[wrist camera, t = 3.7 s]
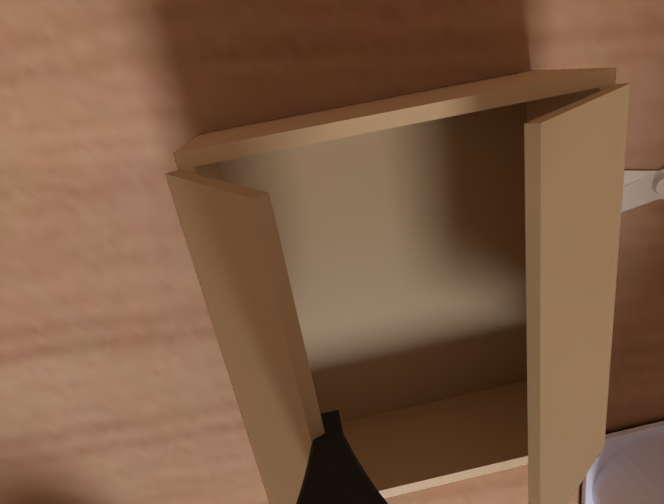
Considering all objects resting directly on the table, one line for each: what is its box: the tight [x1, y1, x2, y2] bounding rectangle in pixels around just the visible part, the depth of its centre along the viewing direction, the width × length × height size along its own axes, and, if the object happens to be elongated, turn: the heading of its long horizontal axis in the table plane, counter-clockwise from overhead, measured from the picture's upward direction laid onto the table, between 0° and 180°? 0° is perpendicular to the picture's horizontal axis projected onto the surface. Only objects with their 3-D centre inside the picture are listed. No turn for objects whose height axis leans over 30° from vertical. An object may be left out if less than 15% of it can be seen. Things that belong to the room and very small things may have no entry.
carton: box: [173, 68, 616, 498], centre depth 19 cm, size 16×14×5 cm
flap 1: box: [165, 170, 325, 504], centre depth 14 cm, size 15×6×1 cm
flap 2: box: [524, 83, 631, 504], centre depth 15 cm, size 15×6×1 cm
